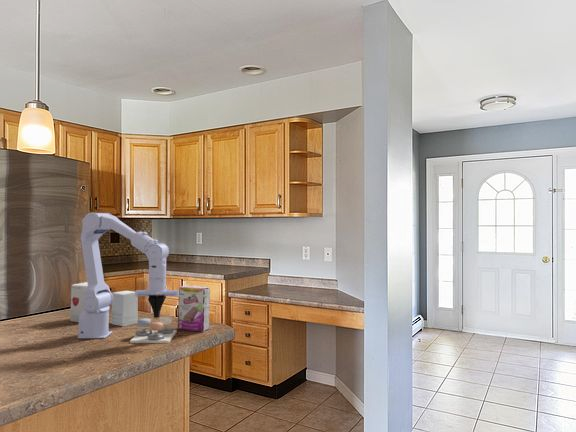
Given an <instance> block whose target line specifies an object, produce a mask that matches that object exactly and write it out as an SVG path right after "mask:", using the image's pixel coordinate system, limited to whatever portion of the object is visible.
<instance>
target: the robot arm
mask: <svg viewBox="0 0 576 432" xmlns="http://www.w3.org/2000/svg"><path fill="white" fill-rule="evenodd" d="M81 224H82V225H81V226H82V229H81V234H80V242H81V243H80V244H81V249H82V254H83V262H84V269H85V275H86V282H87V283H88V286H87V288H86V289H85V290H84V292H83V293H84V298H83V307H84V309H85V310H86V311H82V312H81V313H80V316H79V322H78V333H77V334H78V335H77V339H106V338H107V337H109V336H110V335H111V334H113V331H112V330H110V331H109V325H110V324H109V321H110V316H109V315H110V309H111V308H110V306H111V307H112V303H113V295H112V293H113V292H111V290H110V286H109V285H108V284H107V283H106V282H105V278H104V271H103V265H102V258H101V251H100V245H99V239H100V238H101V237H102V236H103V234H105V233H107V232H108V231H110V230H112V231H114V232H116V233H118V234H120V235H121V236H123V237H124V238H126V239H128V240H130V243H131V244H130V245H131V246H132V247H134V248H136V249H137V250H139V251H140V252H142V253H144V254H145V256H146V258H147V259H148V289H137V290H135V291H134V292H135V297H138V298H139V297H148V298H147V301H148V302H149V304H150V307H151V309H152V314H153V319H154V318H155V319H156V318H157V319H159V318H160V317H161V316H160V315H161V311H162V308H163V304H164V302H165V300H166V298H167V297H175V298H179V289H178V290H177V289H174V290H173V289H166V288H167V258H168V257H169V254H170V248H169V246H168V245H167V244H166V243H165V242H159V240H157V239H154V238H152V237H151V236H149V234H148V232H147V231H135V230H134V229H133V228H131V227H130V226H129V225H127V224H126V223H124V222H123V221H122V220H120V219H119V218H118V217H117V216H115V215H112V214H111V213H110V212H93V211H92V212H89V213H87V214H85V216H84V217H83V218H82V219H81Z"/></svg>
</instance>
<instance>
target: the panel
mask: <svg viewBox="0 0 576 432" xmlns="http://www.w3.org/2000/svg"><path fill="white" fill-rule="evenodd" d="M177 332H178V329H174V328H173V327H168V326H163V329H162V330H157V331H152V330H149V329H147V328H141V329H139V330H138V329H137V330H136V331H135V335H134V336H133V337H132V338H131V339H129V343H130V344H134V343H135V344H169V343H170V342H171V340H172V339H173V338H174V336H175V335H176V334H177Z"/></svg>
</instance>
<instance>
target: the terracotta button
mask: <svg viewBox="0 0 576 432" xmlns="http://www.w3.org/2000/svg"><path fill="white" fill-rule="evenodd" d="M148 327H149V329H148V330H152V331H157V330H162V329H163V328H164V325H163V322H159V321H151V323H150V326H148Z"/></svg>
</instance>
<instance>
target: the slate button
mask: <svg viewBox="0 0 576 432" xmlns="http://www.w3.org/2000/svg"><path fill="white" fill-rule="evenodd" d="M151 322H152V319H151V318H146V317H145V318H138V320H137V323H136V325H137V327H138V328H145V327H146V328H147V327H149V326H150V323H151Z"/></svg>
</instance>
